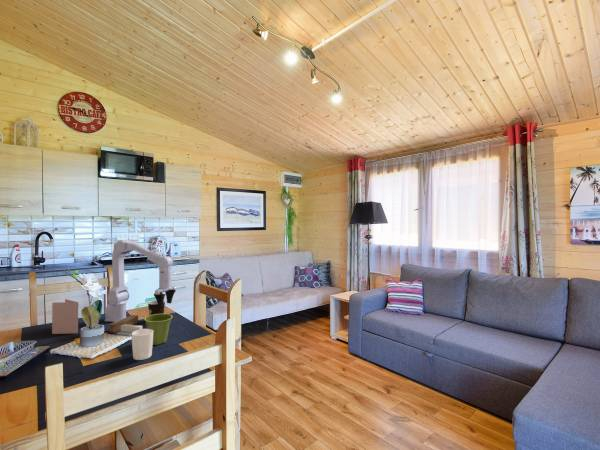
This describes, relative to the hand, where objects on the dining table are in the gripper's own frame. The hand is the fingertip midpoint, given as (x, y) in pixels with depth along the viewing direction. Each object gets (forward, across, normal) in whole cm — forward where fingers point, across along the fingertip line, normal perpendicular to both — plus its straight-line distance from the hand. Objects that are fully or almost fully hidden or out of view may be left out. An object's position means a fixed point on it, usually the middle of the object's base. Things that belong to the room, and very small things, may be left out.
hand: (164, 304), depth 170 cm
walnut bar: (+10, -9, +17) cm, 22 cm away
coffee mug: (+10, +3, +7) cm, 13 cm away
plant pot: (+10, -23, -12) cm, 28 cm away
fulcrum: (+10, -15, +8) cm, 20 cm away
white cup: (+10, -38, -15) cm, 42 cm away
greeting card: (+10, -23, +38) cm, 46 cm away
